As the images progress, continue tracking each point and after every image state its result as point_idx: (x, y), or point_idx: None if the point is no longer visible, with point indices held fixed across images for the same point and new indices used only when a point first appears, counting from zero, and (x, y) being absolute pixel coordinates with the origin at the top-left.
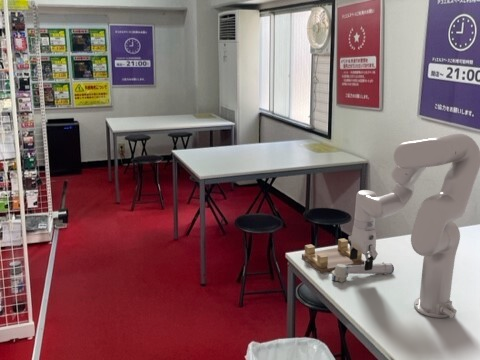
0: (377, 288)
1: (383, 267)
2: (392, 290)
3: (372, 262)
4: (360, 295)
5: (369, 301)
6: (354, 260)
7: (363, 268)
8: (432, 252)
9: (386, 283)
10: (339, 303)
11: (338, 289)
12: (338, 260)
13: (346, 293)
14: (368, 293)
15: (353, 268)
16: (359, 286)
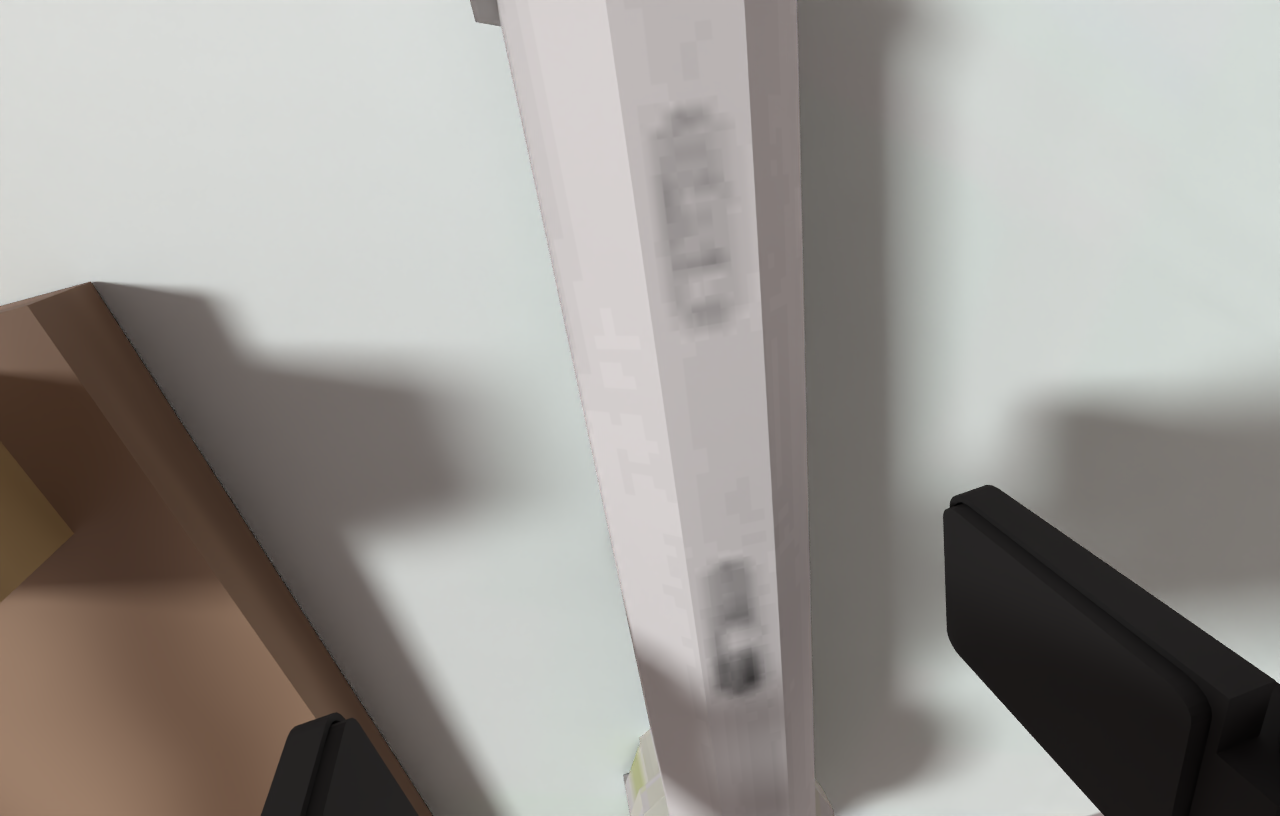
0: (1097, 369)
1: (783, 20)
2: (1259, 150)
3: (1166, 619)
4: None
5: (1275, 555)
6: (37, 544)
7: (801, 602)
8: None
9: (1033, 145)
10: None
11: (922, 788)
12: (93, 810)
13: None
14: (1141, 523)
15: (804, 789)
16: None
